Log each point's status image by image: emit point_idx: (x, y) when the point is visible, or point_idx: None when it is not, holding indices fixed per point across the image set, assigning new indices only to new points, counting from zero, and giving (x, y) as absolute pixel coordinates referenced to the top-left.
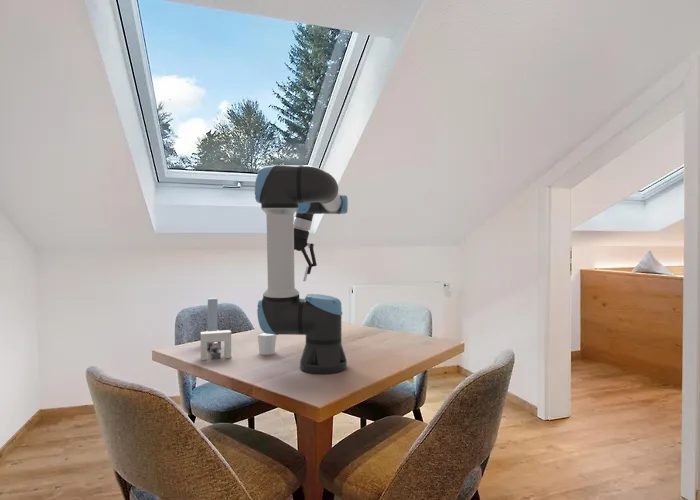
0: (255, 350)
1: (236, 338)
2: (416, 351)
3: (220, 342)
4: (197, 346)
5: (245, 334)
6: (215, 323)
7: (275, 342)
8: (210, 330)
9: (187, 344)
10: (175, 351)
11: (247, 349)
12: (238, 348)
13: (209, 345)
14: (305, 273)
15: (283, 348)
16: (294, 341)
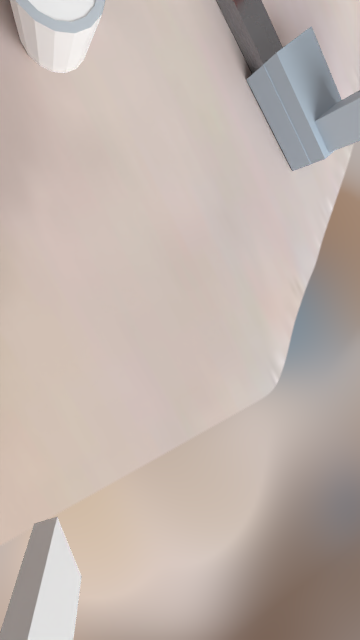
0: (120, 73)
1: (270, 246)
2: None
3: (259, 68)
4: None
5: (272, 313)
6: (345, 103)
7: (11, 6)
8: (336, 105)
9: None
10: (345, 17)
11: (156, 85)
12: (194, 95)
13: None
14: (18, 635)
15: (26, 132)
16: (48, 272)
